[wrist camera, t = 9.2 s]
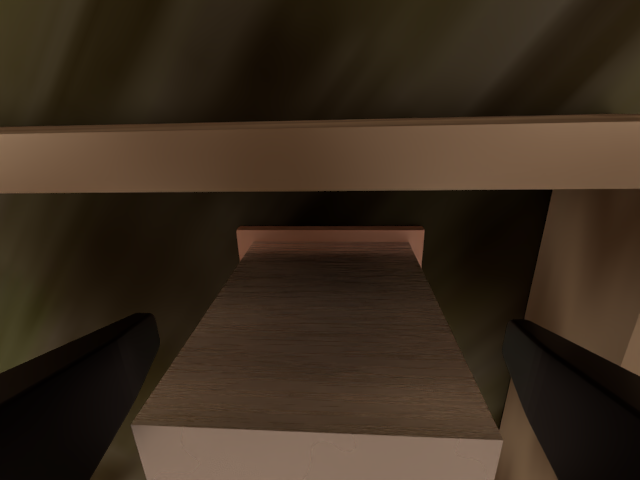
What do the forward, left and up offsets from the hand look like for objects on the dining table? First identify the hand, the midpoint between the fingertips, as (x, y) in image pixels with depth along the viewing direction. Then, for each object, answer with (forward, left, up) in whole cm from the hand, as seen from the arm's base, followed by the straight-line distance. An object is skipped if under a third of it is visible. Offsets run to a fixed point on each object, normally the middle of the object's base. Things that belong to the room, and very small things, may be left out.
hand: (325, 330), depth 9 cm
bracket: (+4, 0, -3) cm, 5 cm away
